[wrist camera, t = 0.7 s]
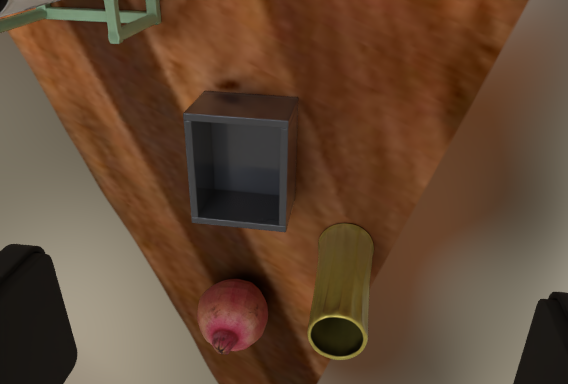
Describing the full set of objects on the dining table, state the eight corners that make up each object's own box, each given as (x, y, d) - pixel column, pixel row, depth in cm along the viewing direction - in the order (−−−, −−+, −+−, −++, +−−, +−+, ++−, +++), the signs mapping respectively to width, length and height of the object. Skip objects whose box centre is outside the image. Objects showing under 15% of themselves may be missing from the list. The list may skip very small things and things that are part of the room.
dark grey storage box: (204, 90, 51) (182, 113, 45) (298, 96, 50) (288, 120, 44) (210, 191, 56) (191, 222, 51) (295, 199, 55) (285, 232, 50)
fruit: (278, 270, 60) (261, 330, 52) (270, 321, 64) (253, 385, 55) (211, 256, 61) (183, 313, 52) (207, 307, 65) (181, 368, 56)
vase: (342, 276, 59) (332, 373, 47) (307, 240, 58) (287, 331, 45) (385, 250, 57) (387, 345, 44) (349, 212, 55) (341, 299, 43)
